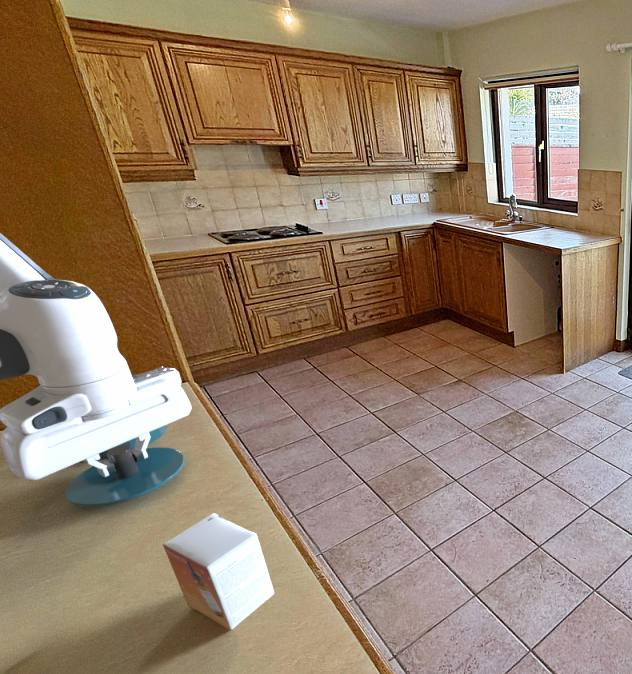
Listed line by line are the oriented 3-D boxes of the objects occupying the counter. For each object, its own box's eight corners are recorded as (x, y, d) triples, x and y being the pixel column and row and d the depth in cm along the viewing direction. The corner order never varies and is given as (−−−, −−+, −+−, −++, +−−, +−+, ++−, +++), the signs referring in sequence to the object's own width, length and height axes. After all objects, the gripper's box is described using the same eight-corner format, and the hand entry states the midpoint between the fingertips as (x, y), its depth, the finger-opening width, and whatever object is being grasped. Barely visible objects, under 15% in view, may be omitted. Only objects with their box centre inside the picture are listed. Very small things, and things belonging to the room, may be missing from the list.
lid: (49, 492, 72) (33, 462, 70) (155, 444, 83) (145, 417, 81) (99, 522, 67) (84, 491, 65) (204, 467, 79) (195, 439, 77)
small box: (187, 606, 58) (159, 543, 54) (234, 571, 63) (212, 511, 59) (230, 632, 55) (205, 568, 51) (276, 594, 60) (256, 532, 56)
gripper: (163, 358, 79) (187, 427, 84) (-23, 417, 61) (22, 500, 67) (187, 366, 77) (209, 437, 82) (1, 431, 59) (46, 515, 65)
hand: (124, 466), depth 74 cm, fingers closed on lid, 2 cm apart
